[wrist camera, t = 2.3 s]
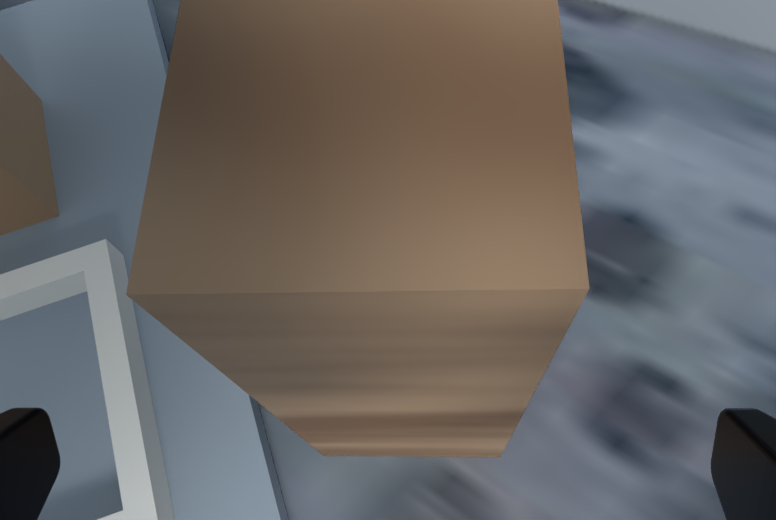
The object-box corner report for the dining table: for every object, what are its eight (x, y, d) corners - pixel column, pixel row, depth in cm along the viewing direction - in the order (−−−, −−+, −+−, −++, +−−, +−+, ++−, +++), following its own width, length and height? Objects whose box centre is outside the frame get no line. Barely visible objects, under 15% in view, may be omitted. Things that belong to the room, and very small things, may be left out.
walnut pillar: (500, 456, 19) (589, 288, 7) (323, 455, 19) (125, 294, 7) (492, 290, 21) (550, -60, 9) (332, 292, 21) (188, -40, 9)
